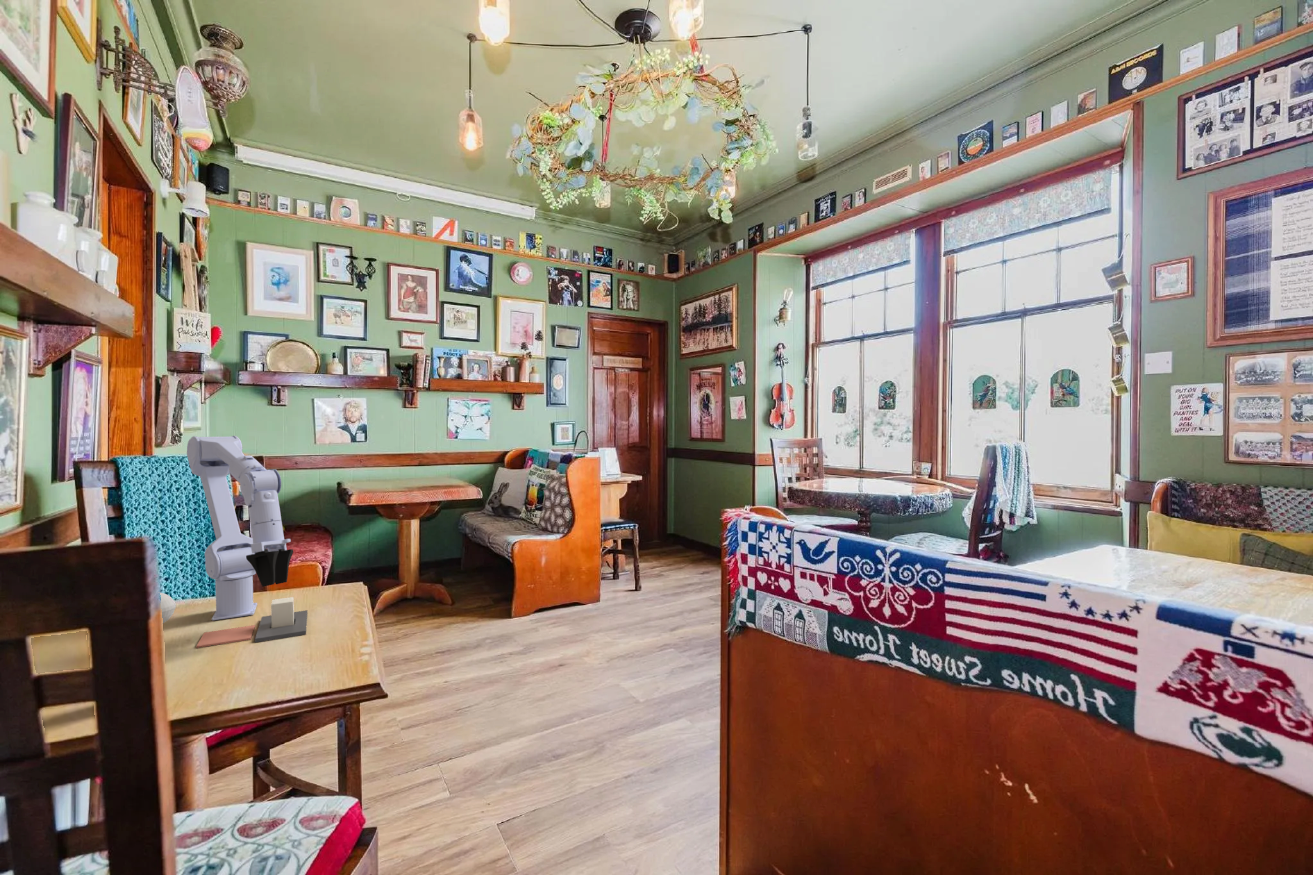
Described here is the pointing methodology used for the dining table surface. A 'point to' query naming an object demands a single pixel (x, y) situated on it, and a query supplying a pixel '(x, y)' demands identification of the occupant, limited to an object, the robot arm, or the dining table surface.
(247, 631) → the mat
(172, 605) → the lollipop
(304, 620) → the board
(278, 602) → the plug
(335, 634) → the dining table surface
